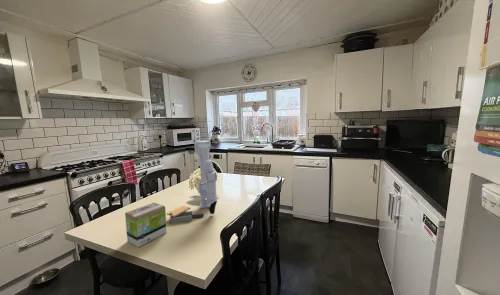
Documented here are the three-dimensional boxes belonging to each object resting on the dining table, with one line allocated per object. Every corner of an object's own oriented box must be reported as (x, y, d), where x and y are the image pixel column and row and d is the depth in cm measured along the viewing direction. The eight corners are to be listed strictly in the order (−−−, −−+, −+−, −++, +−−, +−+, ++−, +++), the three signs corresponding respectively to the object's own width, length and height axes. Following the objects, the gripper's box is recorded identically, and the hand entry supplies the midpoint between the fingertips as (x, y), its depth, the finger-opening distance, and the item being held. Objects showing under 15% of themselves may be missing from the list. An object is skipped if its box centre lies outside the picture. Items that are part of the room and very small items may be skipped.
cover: (182, 206, 127) (182, 204, 127) (190, 208, 124) (190, 206, 124) (166, 214, 117) (166, 212, 117) (173, 217, 113) (173, 214, 113)
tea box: (138, 248, 91) (135, 217, 90) (127, 241, 97) (123, 212, 95) (167, 232, 104) (165, 205, 102) (156, 227, 109) (153, 201, 107)
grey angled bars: (192, 215, 122) (192, 210, 122) (192, 220, 116) (191, 215, 116) (171, 218, 119) (171, 213, 119) (170, 223, 113) (169, 218, 113)
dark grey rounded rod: (203, 215, 122) (203, 212, 122) (203, 217, 120) (203, 214, 119) (189, 217, 120) (189, 214, 119) (189, 219, 118) (189, 215, 117)
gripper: (208, 187, 128) (209, 208, 129) (200, 196, 113) (202, 219, 115) (219, 187, 127) (220, 208, 129) (213, 196, 113) (214, 219, 114)
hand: (212, 213), depth 122 cm, fingers closed
